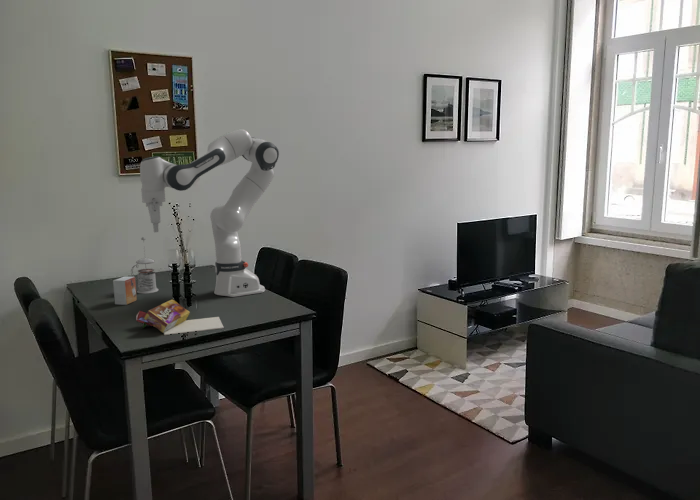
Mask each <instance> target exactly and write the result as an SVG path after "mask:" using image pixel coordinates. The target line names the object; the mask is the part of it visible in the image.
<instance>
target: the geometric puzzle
mask: <svg viewBox="0 0 700 500" xmlns="http://www.w3.org/2000/svg"><path fill="white" fill-rule="evenodd" d="M151 309H152V308H150V309H149V310H151ZM146 314H147V312H146V311H144V310H143V311H142V309H141V310H139V311H138V312H137V313H136V317H135V319H136V322H137V323H139V325H140V326H141V325H142V324H143V326H142V327H141V330H142V329H145V328H147V325H148V326H149V327H152V326H153V325H152V324H150V323H149V322H148V321H146V320H145V319H144V318H145V316H146ZM152 328H155V327H154V326H153V327H152Z"/></svg>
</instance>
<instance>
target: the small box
mask: <svg viewBox="0 0 700 500" xmlns="http://www.w3.org/2000/svg"><path fill="white" fill-rule="evenodd" d="M136 284H137V283H136V277H135V276H133V277H132V276H122V277H120V278H116V279H114V280H112V285H113V295H114V297H113V298H114V304H115V305H120V306H121V305H123V306H126V305H129V304H131V303H133V302H136V301H137V300H138V298H137V285H136Z"/></svg>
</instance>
